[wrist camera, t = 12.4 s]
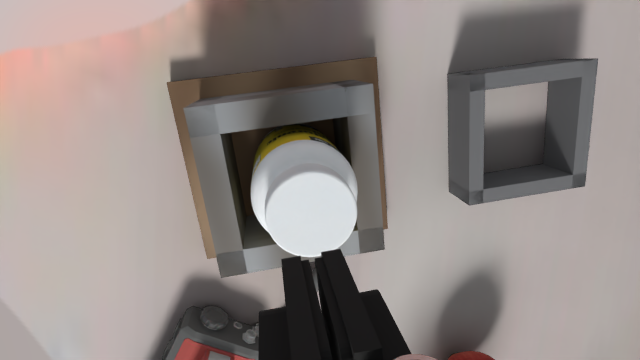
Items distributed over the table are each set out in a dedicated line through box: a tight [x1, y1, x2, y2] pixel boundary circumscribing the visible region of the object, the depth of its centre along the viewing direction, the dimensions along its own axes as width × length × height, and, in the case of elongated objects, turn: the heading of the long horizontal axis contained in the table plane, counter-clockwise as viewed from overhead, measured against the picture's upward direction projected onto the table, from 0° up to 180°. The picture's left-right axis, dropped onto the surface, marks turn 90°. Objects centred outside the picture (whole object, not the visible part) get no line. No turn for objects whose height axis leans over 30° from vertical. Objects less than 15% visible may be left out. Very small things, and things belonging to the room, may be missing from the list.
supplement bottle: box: [251, 123, 358, 257], centre depth 21 cm, size 5×5×10 cm
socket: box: [167, 57, 388, 278], centre depth 24 cm, size 13×12×6 cm
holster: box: [448, 59, 598, 205], centre depth 27 cm, size 9×9×3 cm
